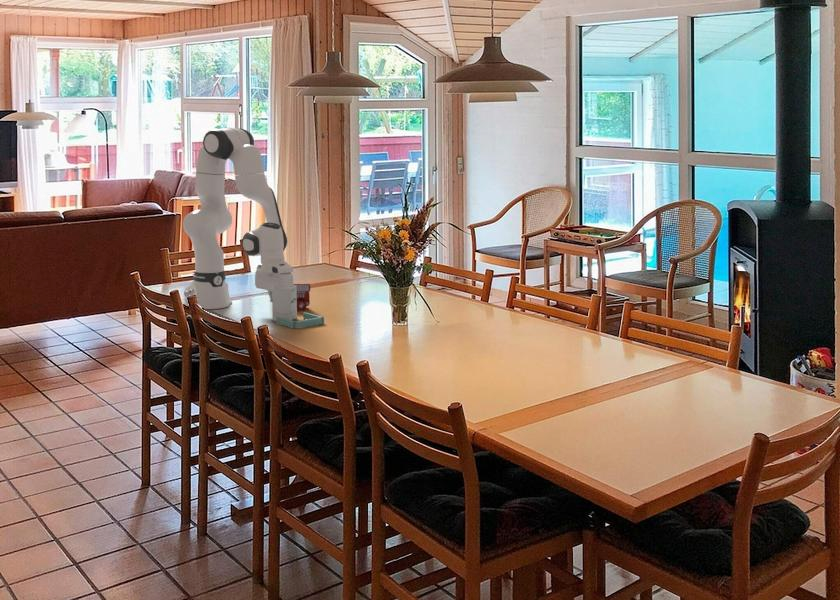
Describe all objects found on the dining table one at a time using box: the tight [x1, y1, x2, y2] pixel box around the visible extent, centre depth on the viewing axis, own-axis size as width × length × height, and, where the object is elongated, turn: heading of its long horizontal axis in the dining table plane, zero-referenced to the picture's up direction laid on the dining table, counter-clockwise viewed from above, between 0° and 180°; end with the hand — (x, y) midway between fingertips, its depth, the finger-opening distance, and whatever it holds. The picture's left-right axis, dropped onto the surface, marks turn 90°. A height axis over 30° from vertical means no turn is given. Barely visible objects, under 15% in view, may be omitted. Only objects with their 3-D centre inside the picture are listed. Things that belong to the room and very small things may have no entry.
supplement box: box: [271, 285, 298, 322], centre depth 349 cm, size 7×7×13 cm
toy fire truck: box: [293, 283, 311, 311], centre depth 368 cm, size 7×12×10 cm, turn 91°
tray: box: [276, 311, 325, 329], centre depth 343 cm, size 12×13×2 cm
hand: (274, 302), depth 355 cm, fingers closed
